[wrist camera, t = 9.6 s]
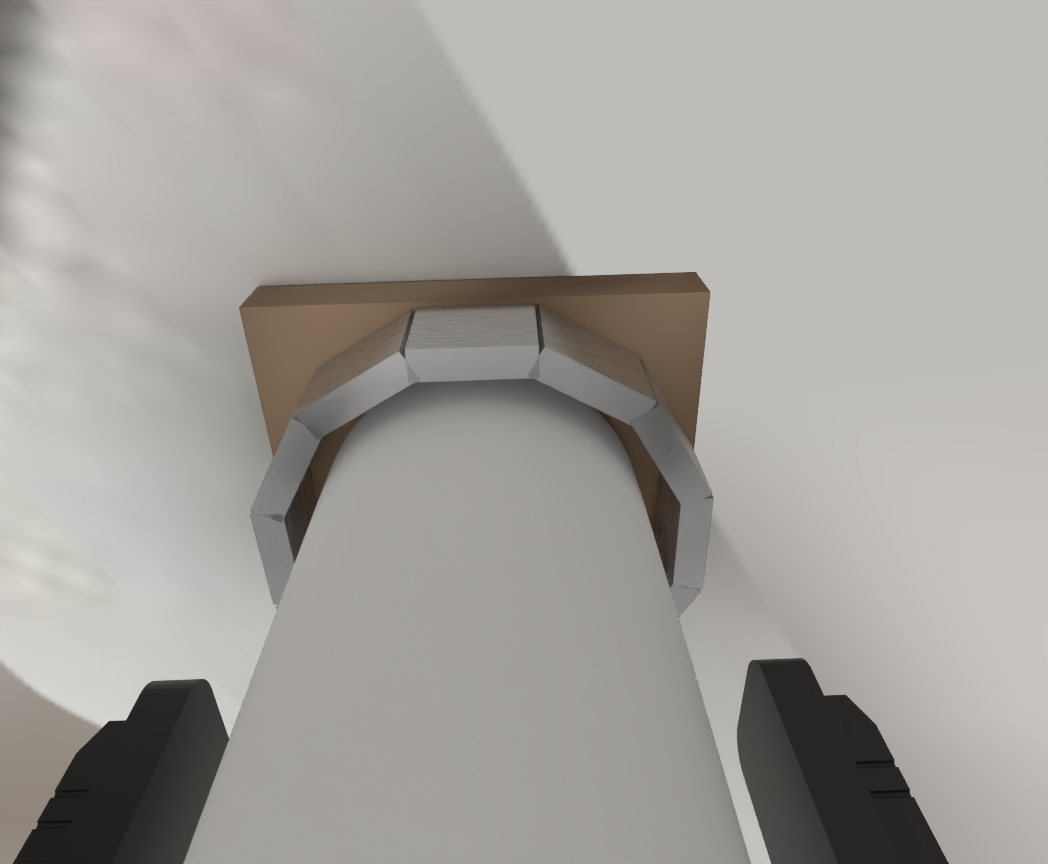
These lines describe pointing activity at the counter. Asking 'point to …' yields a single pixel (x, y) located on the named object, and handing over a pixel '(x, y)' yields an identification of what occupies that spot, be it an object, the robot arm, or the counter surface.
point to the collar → (488, 354)
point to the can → (474, 658)
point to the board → (591, 301)
